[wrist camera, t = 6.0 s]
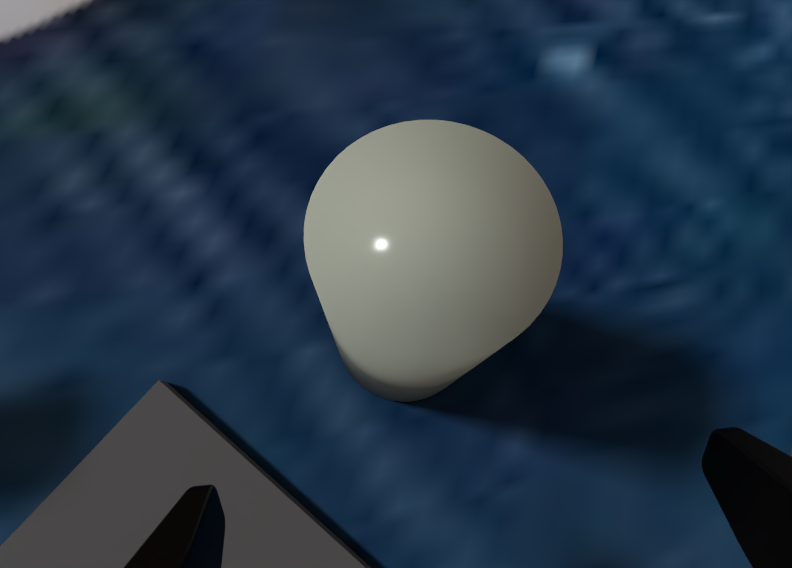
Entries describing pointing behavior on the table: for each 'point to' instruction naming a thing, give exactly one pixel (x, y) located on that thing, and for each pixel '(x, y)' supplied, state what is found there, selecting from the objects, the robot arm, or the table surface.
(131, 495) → the mat
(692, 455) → the table surface
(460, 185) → the light bulb
